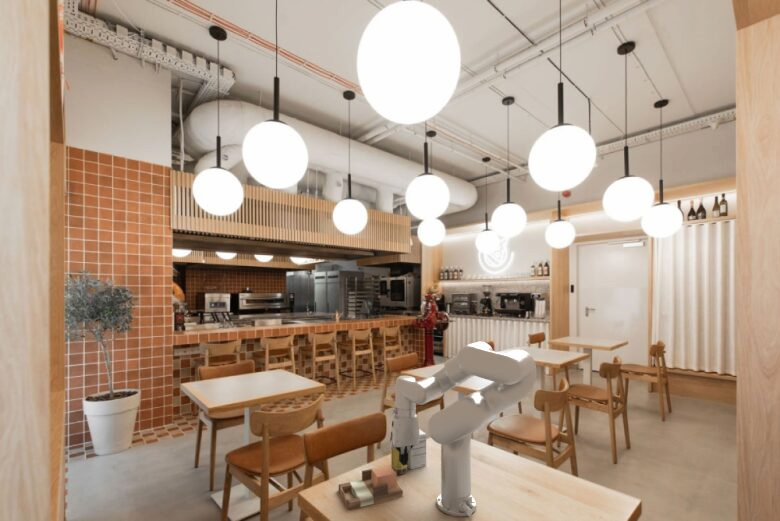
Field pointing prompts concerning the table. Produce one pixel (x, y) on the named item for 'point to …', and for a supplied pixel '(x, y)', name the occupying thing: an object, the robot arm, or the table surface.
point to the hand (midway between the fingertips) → (403, 463)
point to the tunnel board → (368, 492)
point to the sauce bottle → (397, 463)
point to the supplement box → (418, 453)
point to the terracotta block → (383, 476)
